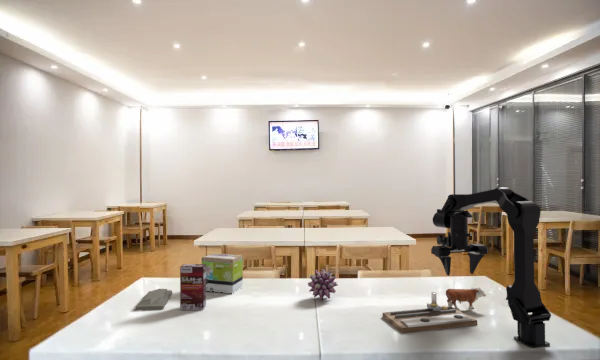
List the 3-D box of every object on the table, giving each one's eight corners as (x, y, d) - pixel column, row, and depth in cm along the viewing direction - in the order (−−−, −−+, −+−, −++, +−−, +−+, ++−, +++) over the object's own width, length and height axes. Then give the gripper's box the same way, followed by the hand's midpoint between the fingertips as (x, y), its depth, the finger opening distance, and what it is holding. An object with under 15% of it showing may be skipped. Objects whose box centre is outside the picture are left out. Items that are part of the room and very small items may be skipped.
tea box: (200, 291, 162) (200, 256, 162) (212, 285, 172) (212, 252, 172) (232, 294, 158) (232, 258, 158) (243, 287, 167) (243, 254, 167)
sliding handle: (441, 310, 128) (441, 294, 128) (433, 311, 127) (433, 295, 127) (434, 306, 132) (434, 291, 132) (426, 307, 131) (426, 291, 131)
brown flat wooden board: (477, 324, 122) (477, 315, 122) (402, 333, 116) (402, 323, 116) (450, 310, 135) (450, 302, 135) (382, 317, 129) (382, 308, 129)
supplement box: (179, 310, 138) (179, 266, 138) (183, 306, 143) (183, 263, 143) (203, 310, 138) (203, 266, 138) (206, 305, 143) (206, 263, 143)
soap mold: (133, 312, 138) (133, 303, 138) (147, 296, 158) (147, 287, 158) (163, 310, 140) (163, 301, 140) (173, 294, 160) (173, 286, 160)
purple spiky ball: (343, 301, 146) (343, 270, 147) (314, 305, 142) (314, 273, 142) (330, 293, 157) (329, 264, 157) (303, 297, 153) (302, 267, 153)
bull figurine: (487, 312, 133) (487, 288, 133) (446, 310, 136) (446, 287, 136) (484, 308, 137) (483, 285, 137) (444, 306, 140) (444, 283, 140)
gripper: (468, 226, 143) (469, 268, 143) (422, 228, 140) (423, 271, 140) (488, 229, 133) (489, 275, 132) (439, 232, 129) (440, 278, 129)
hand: (459, 274), depth 133 cm, fingers open, 9 cm apart
